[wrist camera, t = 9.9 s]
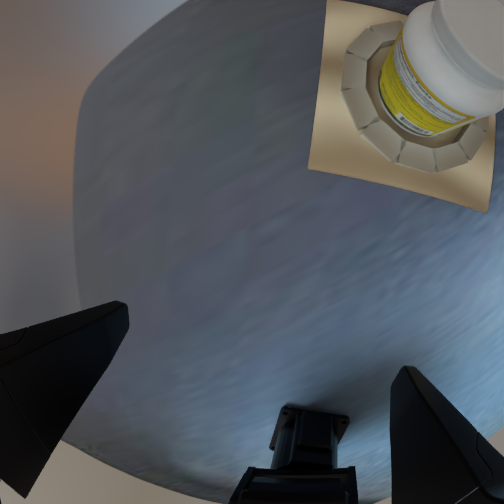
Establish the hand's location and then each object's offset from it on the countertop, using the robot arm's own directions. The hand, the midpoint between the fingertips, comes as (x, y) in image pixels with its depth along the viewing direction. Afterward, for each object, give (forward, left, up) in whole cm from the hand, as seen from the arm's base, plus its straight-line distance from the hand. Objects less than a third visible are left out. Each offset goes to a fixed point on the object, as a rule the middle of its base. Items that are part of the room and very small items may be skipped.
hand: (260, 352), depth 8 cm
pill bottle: (+13, -7, -12) cm, 19 cm away
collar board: (+13, -7, -13) cm, 20 cm away
